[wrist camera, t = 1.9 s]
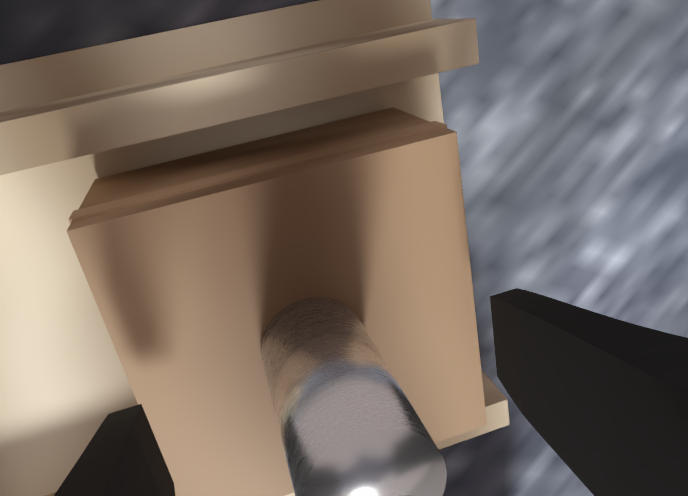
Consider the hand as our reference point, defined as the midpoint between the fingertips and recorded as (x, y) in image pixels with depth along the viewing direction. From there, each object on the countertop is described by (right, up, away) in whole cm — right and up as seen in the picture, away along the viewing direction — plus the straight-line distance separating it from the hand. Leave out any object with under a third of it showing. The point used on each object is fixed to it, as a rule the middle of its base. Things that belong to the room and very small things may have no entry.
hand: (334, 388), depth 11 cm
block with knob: (-2, +2, +5) cm, 6 cm away
